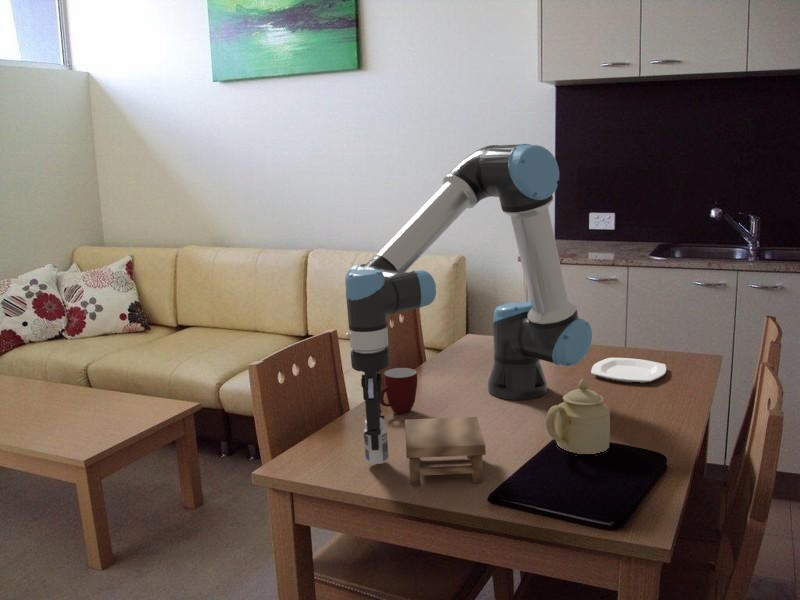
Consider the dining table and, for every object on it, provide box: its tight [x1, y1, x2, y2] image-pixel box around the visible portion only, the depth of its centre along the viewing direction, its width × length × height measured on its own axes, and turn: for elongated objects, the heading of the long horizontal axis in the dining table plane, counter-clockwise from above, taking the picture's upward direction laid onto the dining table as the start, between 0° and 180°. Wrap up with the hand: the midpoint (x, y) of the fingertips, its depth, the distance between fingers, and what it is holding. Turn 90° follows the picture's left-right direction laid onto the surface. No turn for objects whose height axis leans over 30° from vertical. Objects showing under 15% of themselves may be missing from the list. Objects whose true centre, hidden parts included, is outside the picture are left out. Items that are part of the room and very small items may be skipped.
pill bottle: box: [363, 418, 389, 463], centre depth 155 cm, size 5×5×8 cm
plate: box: [590, 357, 667, 384], centre depth 208 cm, size 19×19×2 cm
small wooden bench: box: [404, 416, 487, 487], centre depth 153 cm, size 15×15×8 cm
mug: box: [380, 367, 418, 416], centre depth 185 cm, size 10×8×10 cm
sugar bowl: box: [545, 378, 611, 454], centre depth 159 cm, size 15×11×15 cm
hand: (376, 457), depth 156 cm, fingers closed on pill bottle, 5 cm apart
